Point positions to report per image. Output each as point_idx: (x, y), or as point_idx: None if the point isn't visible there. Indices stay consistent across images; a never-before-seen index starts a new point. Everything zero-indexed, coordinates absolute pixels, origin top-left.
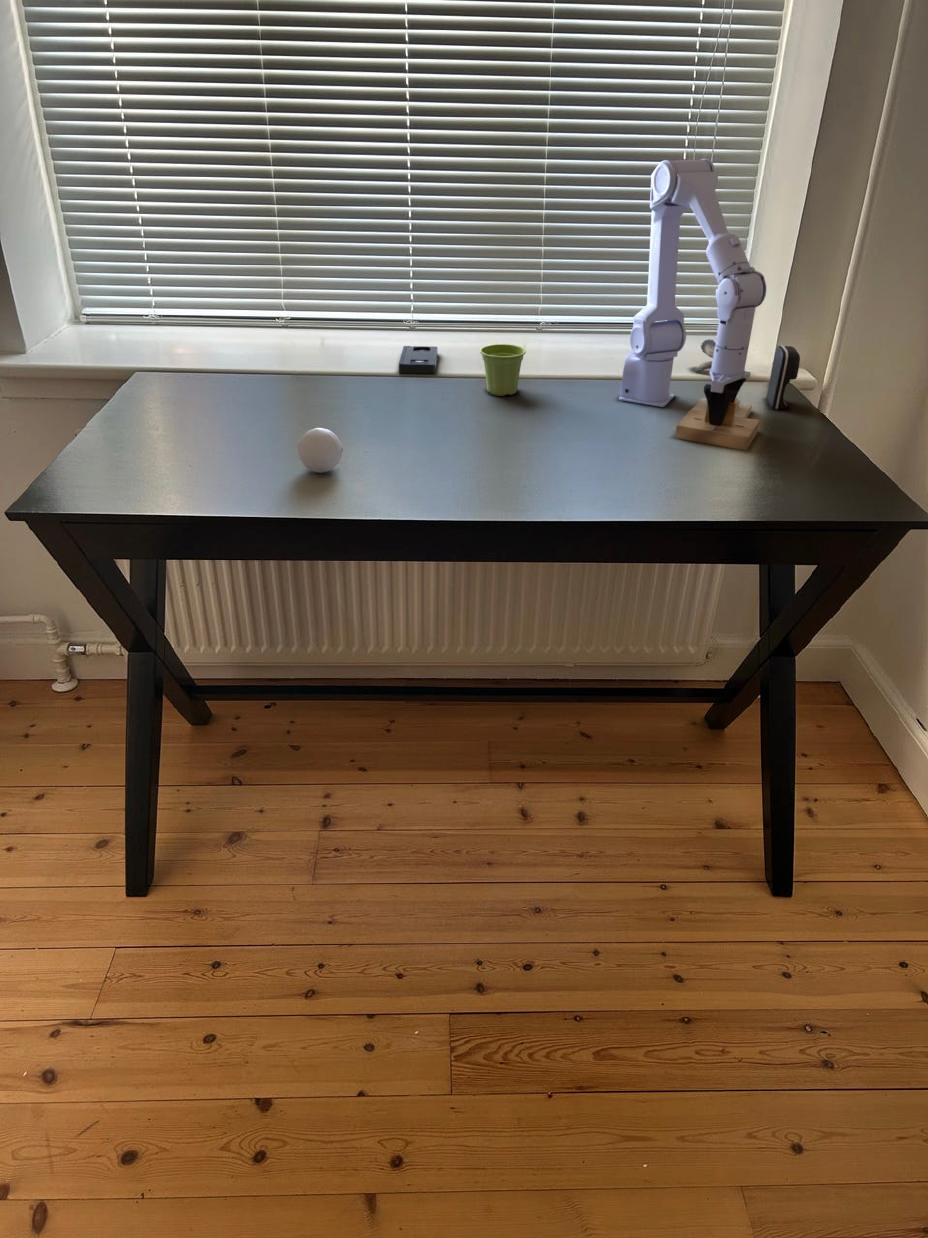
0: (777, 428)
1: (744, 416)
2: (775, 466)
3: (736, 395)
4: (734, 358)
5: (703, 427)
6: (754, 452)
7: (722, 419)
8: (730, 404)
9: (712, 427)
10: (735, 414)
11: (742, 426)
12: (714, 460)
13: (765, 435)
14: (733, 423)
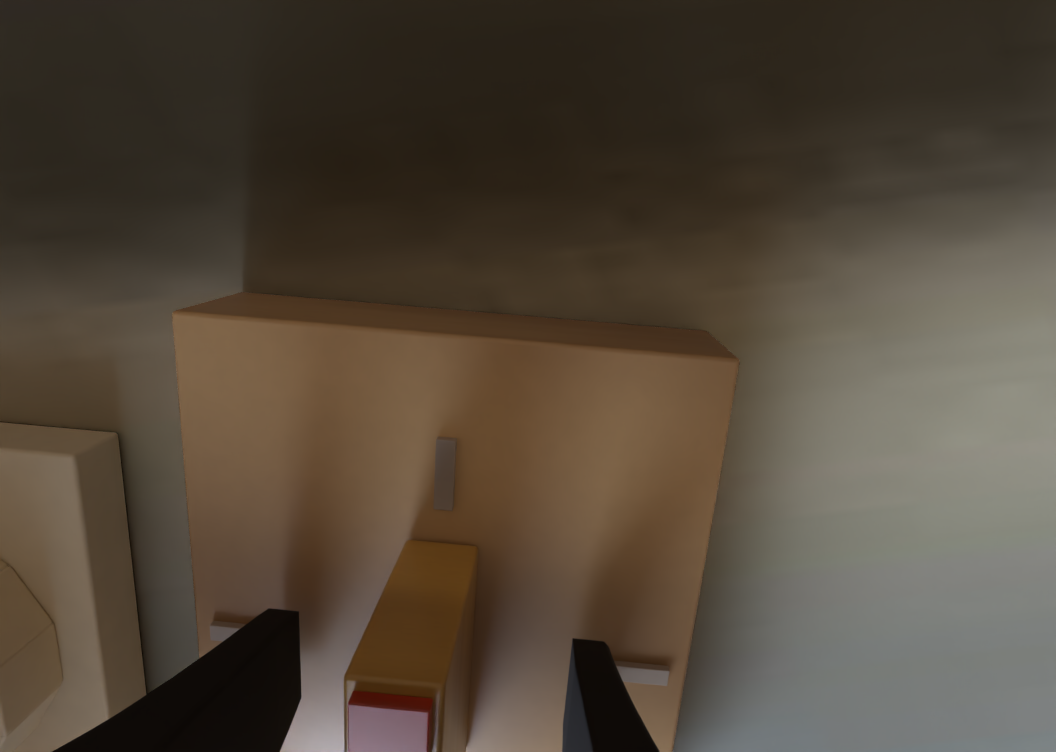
0: (27, 132)
1: (29, 449)
2: (1024, 26)
3: (110, 744)
4: None
5: None
6: (721, 258)
7: (623, 688)
8: (428, 749)
9: None
10: (33, 524)
11: (455, 450)
12: (999, 529)
13: (262, 216)
14: (399, 533)
